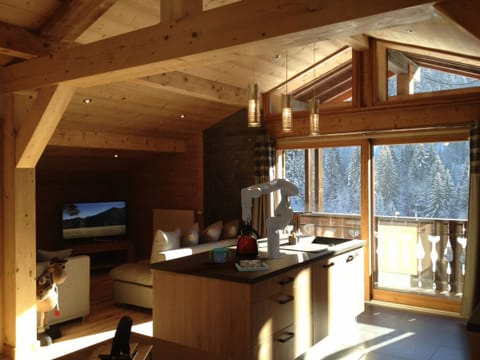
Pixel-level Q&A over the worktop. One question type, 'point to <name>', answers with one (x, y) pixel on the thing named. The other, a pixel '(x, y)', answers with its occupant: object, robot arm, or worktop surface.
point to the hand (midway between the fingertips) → (247, 229)
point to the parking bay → (253, 268)
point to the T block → (250, 263)
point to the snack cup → (220, 254)
